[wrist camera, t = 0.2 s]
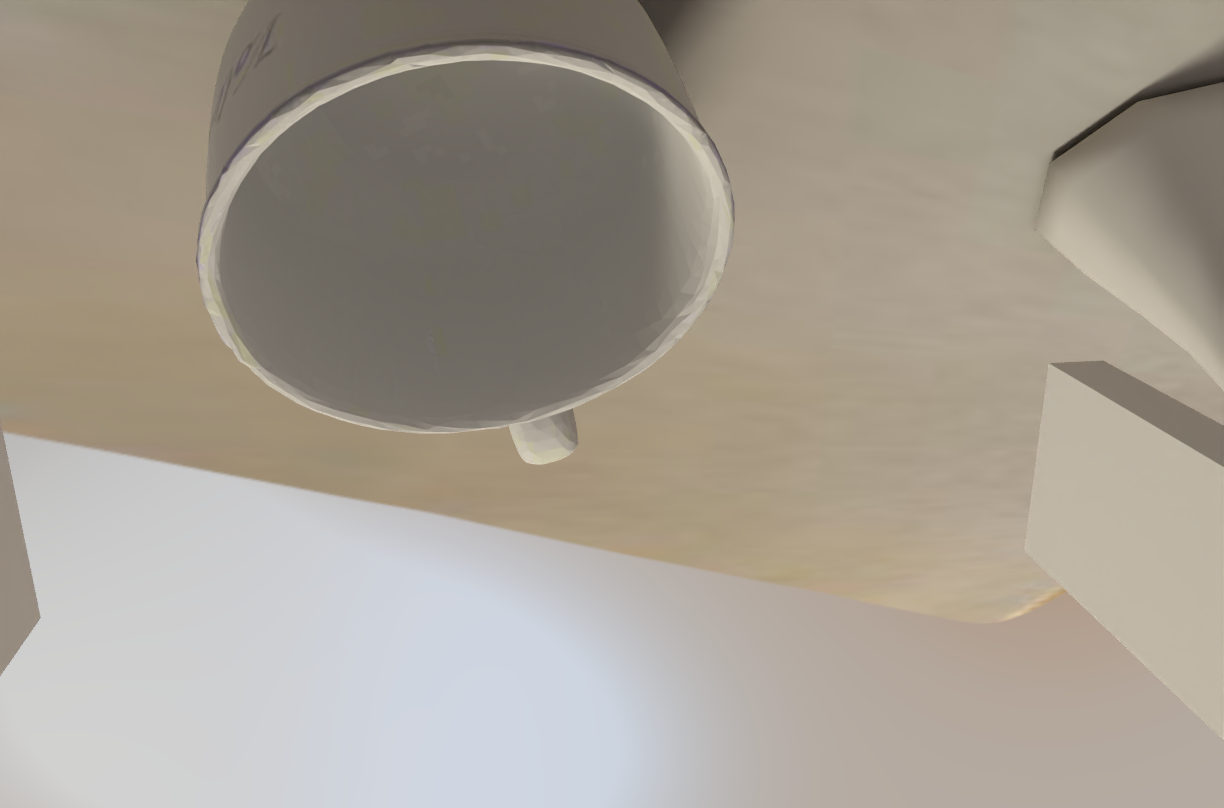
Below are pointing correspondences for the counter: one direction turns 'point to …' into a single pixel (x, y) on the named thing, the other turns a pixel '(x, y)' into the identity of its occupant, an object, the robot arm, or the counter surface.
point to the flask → (1150, 215)
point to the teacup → (456, 209)
